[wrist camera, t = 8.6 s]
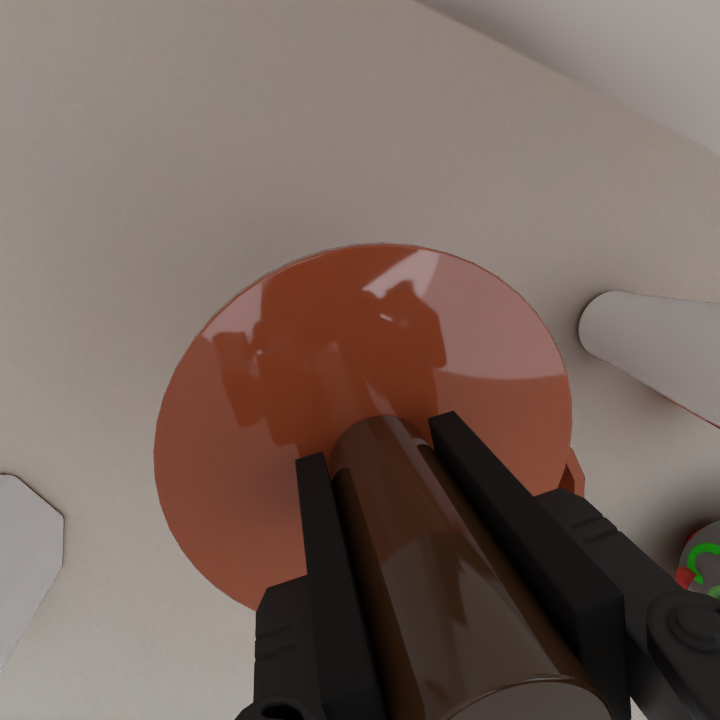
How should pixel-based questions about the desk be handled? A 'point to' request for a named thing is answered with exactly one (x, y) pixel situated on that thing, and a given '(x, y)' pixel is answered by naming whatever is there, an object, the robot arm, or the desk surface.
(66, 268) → the desk surface
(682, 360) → the white plastic tumbler
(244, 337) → the lid
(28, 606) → the cup
